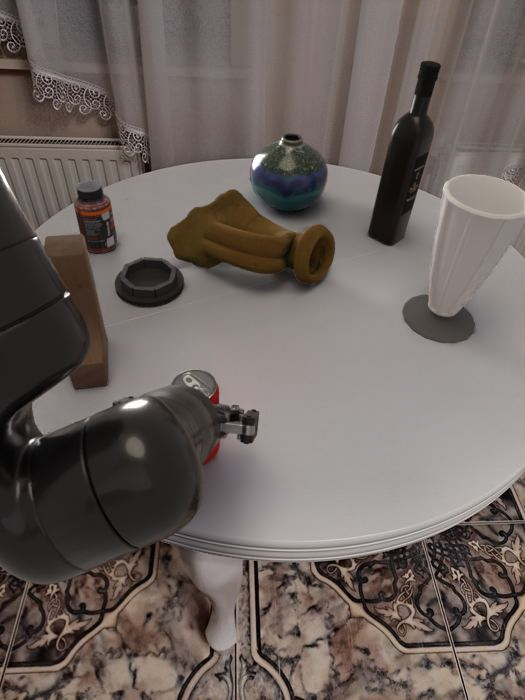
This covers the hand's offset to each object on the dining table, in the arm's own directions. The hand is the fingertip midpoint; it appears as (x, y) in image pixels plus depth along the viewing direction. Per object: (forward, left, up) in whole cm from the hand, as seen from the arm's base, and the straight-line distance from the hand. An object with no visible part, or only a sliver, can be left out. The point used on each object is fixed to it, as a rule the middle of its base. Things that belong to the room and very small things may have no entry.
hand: (198, 410), depth 58 cm
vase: (+50, +34, -6) cm, 61 cm away
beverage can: (-1, -1, -6) cm, 6 cm away
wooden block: (-3, +20, -6) cm, 21 cm away
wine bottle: (+56, +13, -6) cm, 58 cm away
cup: (+43, -7, -6) cm, 44 cm away
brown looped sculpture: (+29, +22, -6) cm, 37 cm away
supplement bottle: (+13, +44, -6) cm, 46 cm away
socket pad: (+13, +29, -6) cm, 32 cm away
